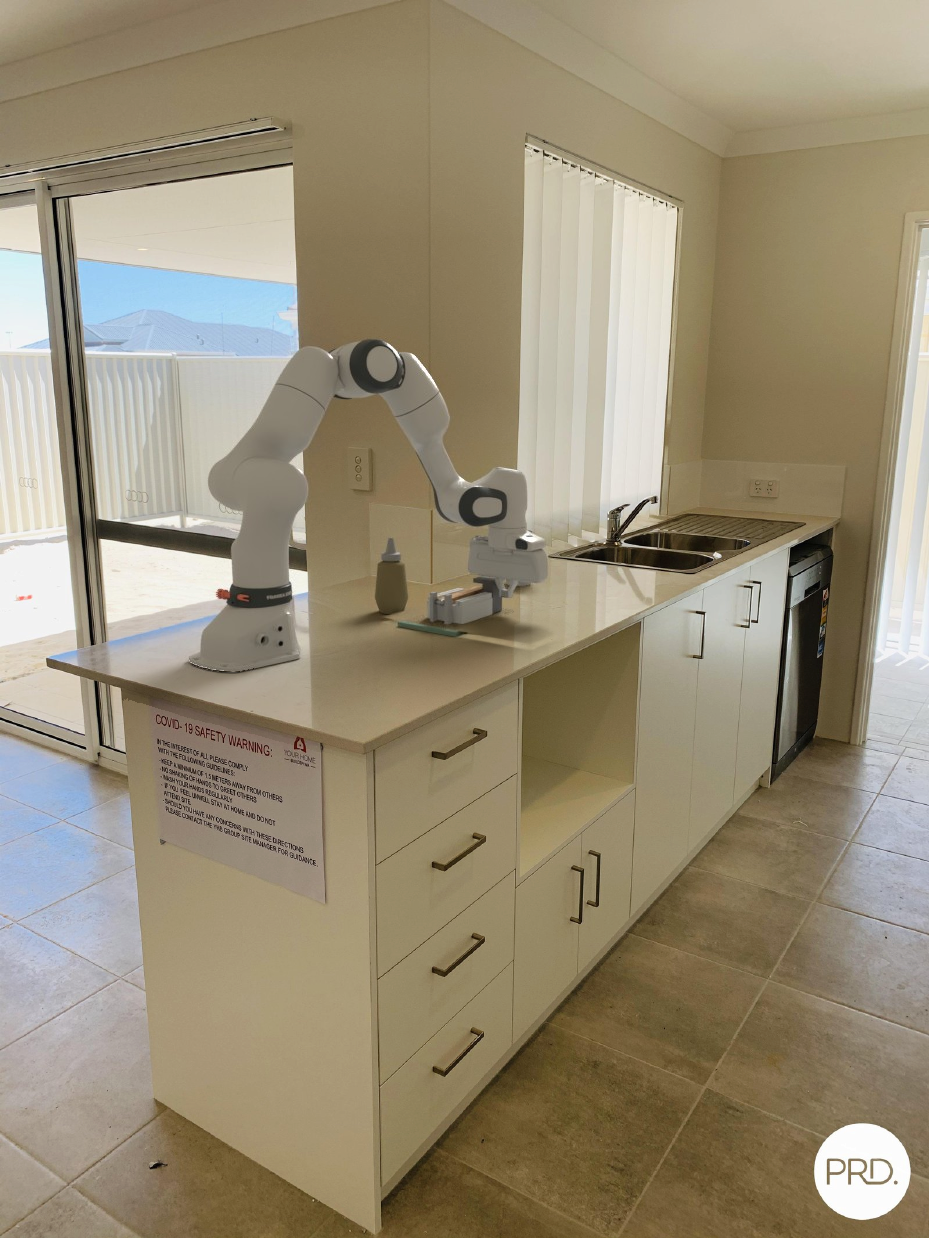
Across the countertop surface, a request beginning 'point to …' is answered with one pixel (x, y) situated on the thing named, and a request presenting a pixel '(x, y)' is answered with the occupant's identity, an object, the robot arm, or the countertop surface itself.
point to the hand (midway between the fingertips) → (506, 597)
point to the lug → (490, 591)
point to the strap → (460, 595)
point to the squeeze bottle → (391, 581)
